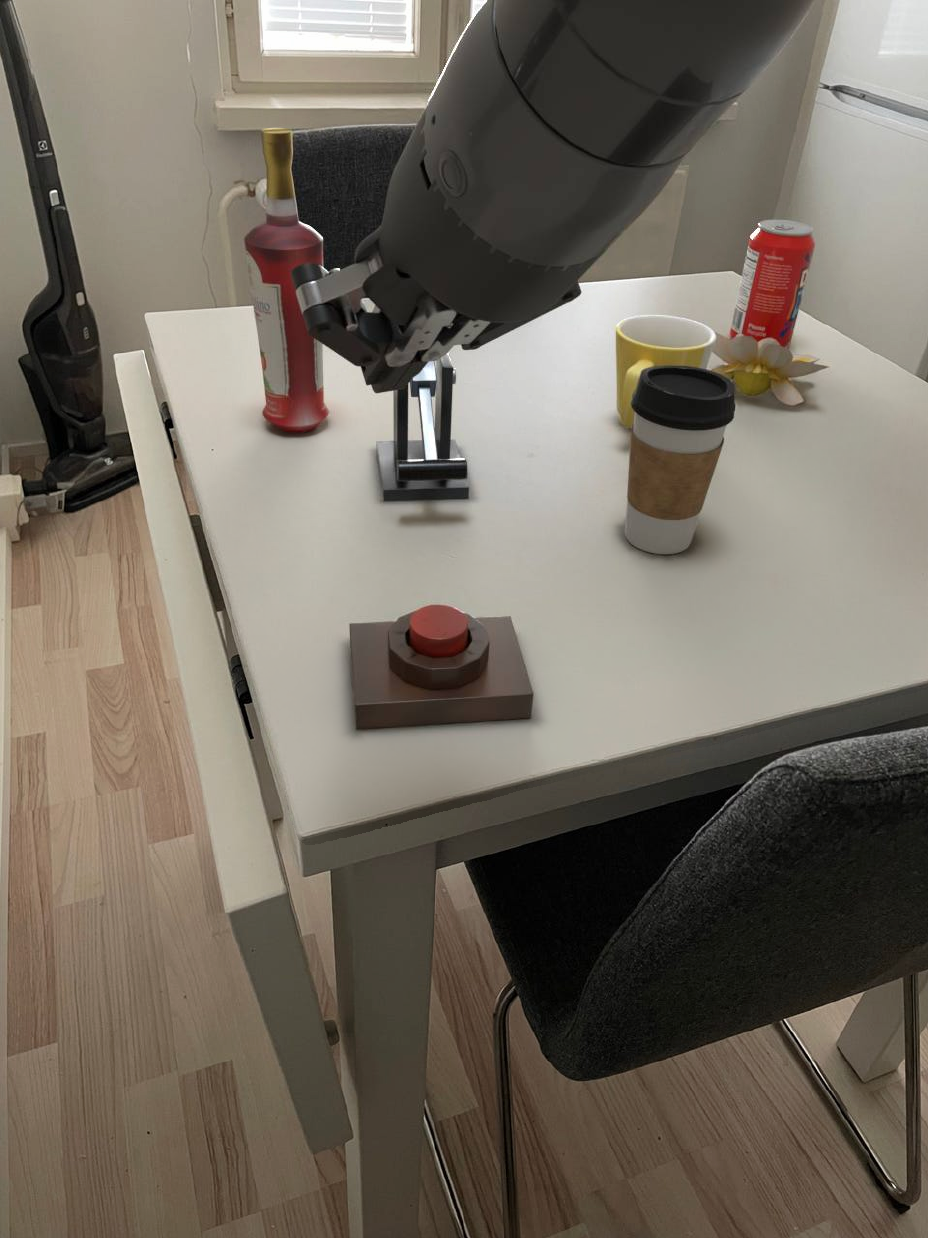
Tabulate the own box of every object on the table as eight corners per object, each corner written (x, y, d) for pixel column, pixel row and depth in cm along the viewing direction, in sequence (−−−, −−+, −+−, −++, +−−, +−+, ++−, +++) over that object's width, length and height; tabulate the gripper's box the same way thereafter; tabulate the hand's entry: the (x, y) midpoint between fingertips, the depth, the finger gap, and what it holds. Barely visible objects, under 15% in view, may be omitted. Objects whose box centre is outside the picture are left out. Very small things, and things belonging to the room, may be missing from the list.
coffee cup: (592, 523, 87) (615, 364, 78) (669, 506, 90) (699, 352, 81) (644, 570, 81) (674, 405, 72) (724, 551, 84) (763, 390, 75)
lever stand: (468, 498, 90) (474, 378, 83) (383, 501, 89) (382, 380, 82) (454, 449, 98) (459, 337, 91) (376, 451, 97) (375, 337, 90)
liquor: (252, 415, 102) (223, 124, 86) (316, 404, 105) (301, 121, 88) (274, 443, 97) (249, 140, 80) (341, 431, 100) (330, 136, 83)
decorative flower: (846, 376, 113) (857, 298, 106) (810, 428, 107) (820, 349, 100) (725, 354, 121) (729, 279, 113) (686, 401, 115) (687, 326, 108)
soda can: (715, 341, 126) (740, 222, 117) (751, 330, 130) (777, 214, 121) (765, 360, 121) (794, 237, 112) (800, 347, 126) (831, 228, 117)
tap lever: (465, 485, 84) (468, 470, 82) (397, 487, 84) (398, 472, 81) (452, 372, 89) (454, 355, 87) (388, 372, 88) (389, 356, 86)
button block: (355, 729, 64) (354, 684, 62) (350, 646, 71) (348, 603, 69) (531, 718, 66) (536, 673, 63) (508, 638, 73) (512, 595, 70)
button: (412, 661, 64) (412, 640, 63) (407, 625, 68) (407, 605, 67) (470, 657, 65) (472, 637, 64) (463, 622, 68) (464, 602, 67)
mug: (636, 396, 111) (650, 306, 104) (714, 424, 105) (734, 330, 99) (566, 432, 102) (577, 336, 96) (647, 464, 97) (665, 365, 91)
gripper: (664, 46, 34) (477, 287, 50) (310, 48, 28) (227, 317, 44) (730, 243, 33) (520, 423, 49) (383, 283, 28) (272, 470, 44)
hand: (381, 373), depth 47 cm, fingers closed
